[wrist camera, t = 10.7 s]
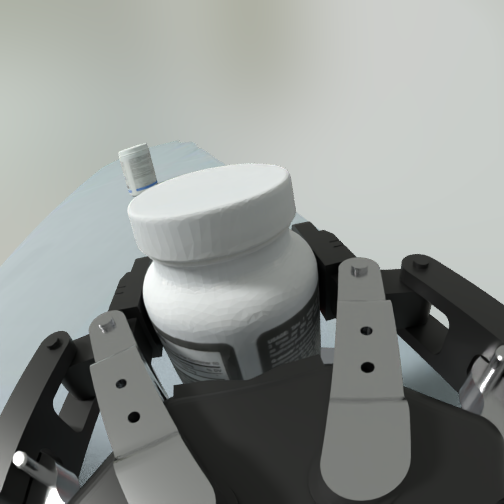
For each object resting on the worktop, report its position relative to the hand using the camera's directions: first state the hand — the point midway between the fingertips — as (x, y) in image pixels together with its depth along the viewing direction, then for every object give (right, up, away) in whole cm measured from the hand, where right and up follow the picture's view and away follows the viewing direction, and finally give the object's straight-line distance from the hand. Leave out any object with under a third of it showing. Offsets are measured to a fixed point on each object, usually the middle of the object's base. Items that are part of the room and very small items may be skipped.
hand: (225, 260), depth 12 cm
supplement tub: (-32, +19, +74) cm, 83 cm away
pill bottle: (+1, -7, +1) cm, 7 cm away
